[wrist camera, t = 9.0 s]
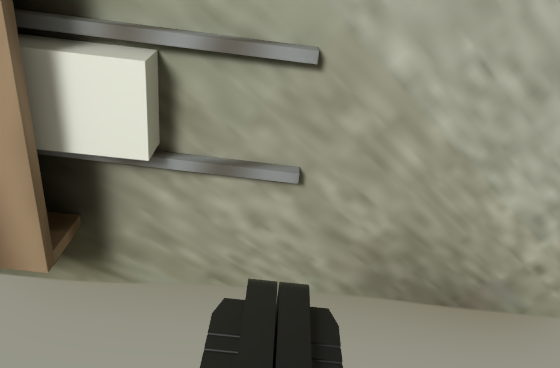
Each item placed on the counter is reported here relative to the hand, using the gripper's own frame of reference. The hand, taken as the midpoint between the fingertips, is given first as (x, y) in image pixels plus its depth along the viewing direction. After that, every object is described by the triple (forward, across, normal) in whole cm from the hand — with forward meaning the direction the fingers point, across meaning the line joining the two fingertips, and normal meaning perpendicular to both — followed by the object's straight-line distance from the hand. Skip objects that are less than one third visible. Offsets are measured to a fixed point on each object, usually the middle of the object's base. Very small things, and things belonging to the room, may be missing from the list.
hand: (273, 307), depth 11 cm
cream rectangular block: (+20, +14, +2) cm, 25 cm away
